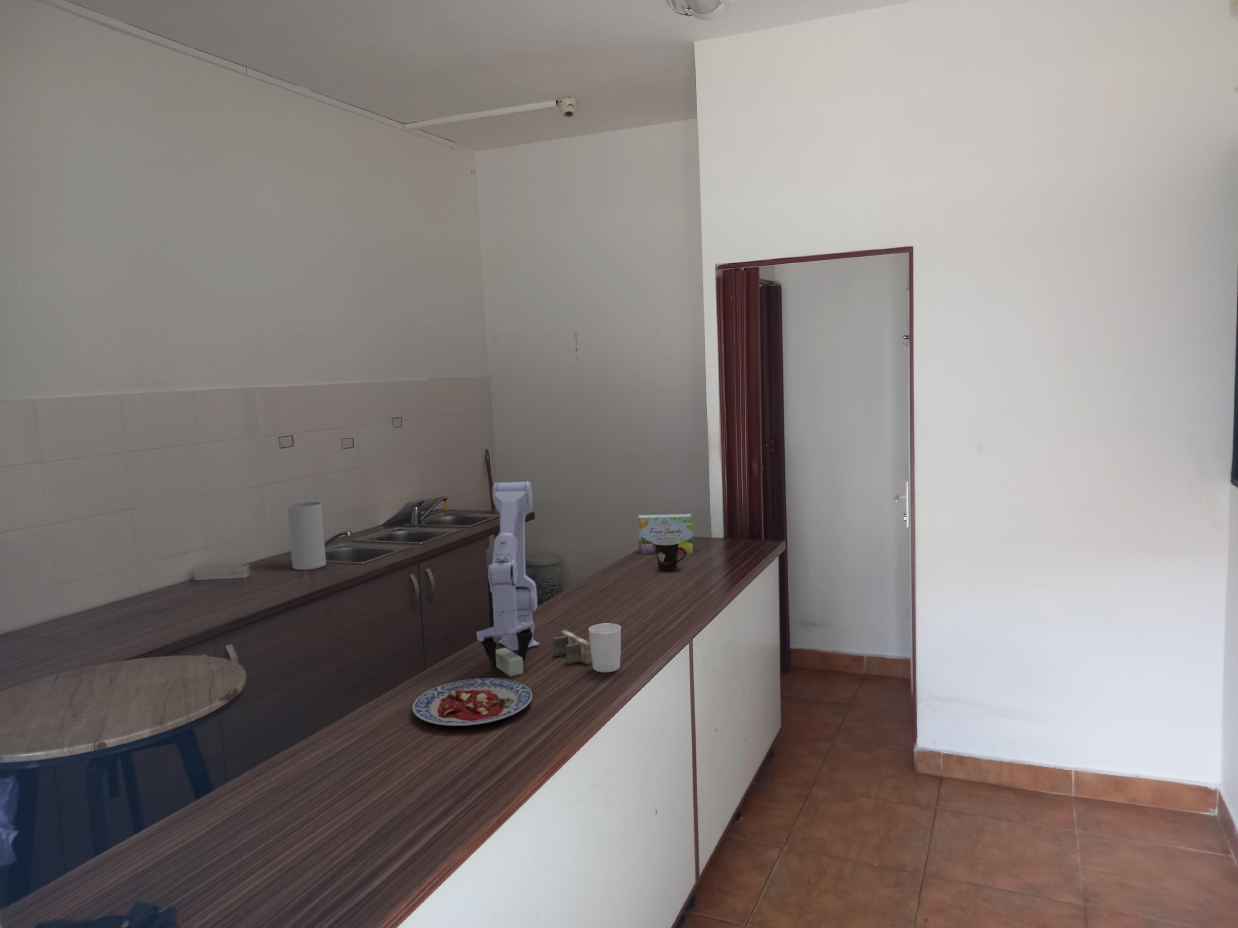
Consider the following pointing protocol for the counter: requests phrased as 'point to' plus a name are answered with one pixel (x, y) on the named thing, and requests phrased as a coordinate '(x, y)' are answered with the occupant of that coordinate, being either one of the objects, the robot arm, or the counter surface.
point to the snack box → (665, 531)
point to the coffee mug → (668, 555)
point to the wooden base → (572, 648)
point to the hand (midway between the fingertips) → (507, 663)
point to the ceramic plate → (472, 701)
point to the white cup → (605, 647)
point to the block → (509, 662)
